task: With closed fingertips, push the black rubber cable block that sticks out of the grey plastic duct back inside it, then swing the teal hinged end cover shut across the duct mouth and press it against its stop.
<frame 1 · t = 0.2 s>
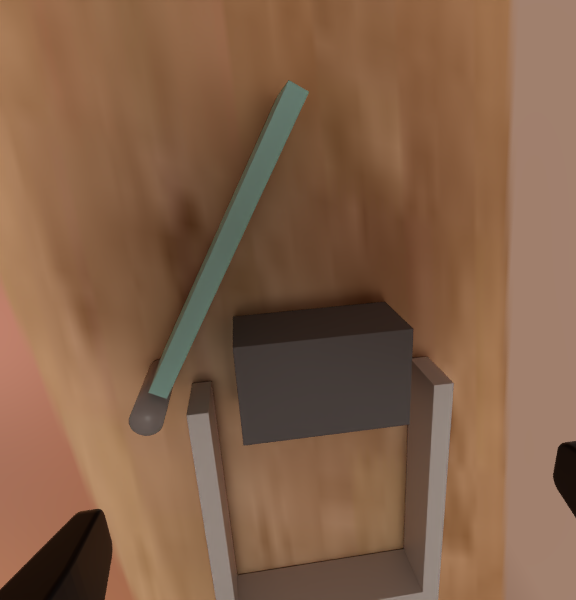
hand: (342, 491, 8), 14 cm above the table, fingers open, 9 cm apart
cable block: (311, 350, 23), on the table
duct: (318, 474, 25), on the table
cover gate: (222, 245, 18), point 2 cm above the table, hinge at 60.0°
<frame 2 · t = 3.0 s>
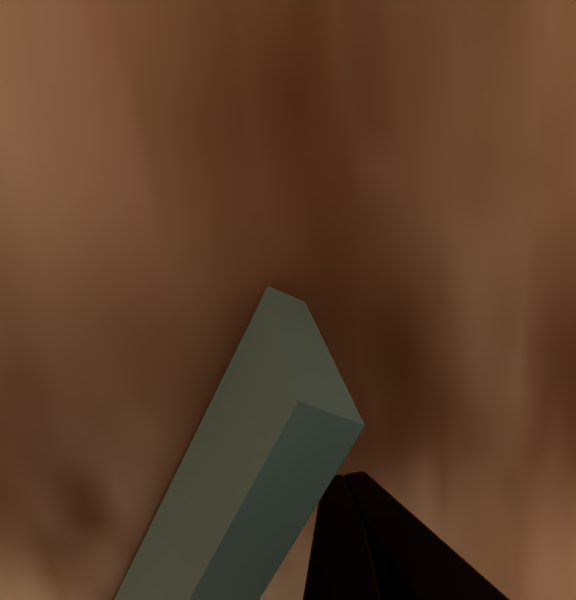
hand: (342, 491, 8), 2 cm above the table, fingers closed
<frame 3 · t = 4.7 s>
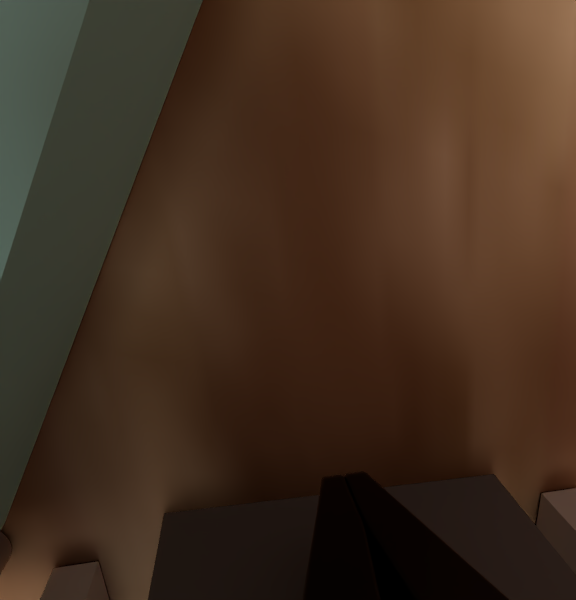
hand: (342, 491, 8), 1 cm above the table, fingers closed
cable block: (334, 568, 11), on the table, touching gripper
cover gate: (38, 255, 5), point 2 cm above the table, hinge at 60.0°
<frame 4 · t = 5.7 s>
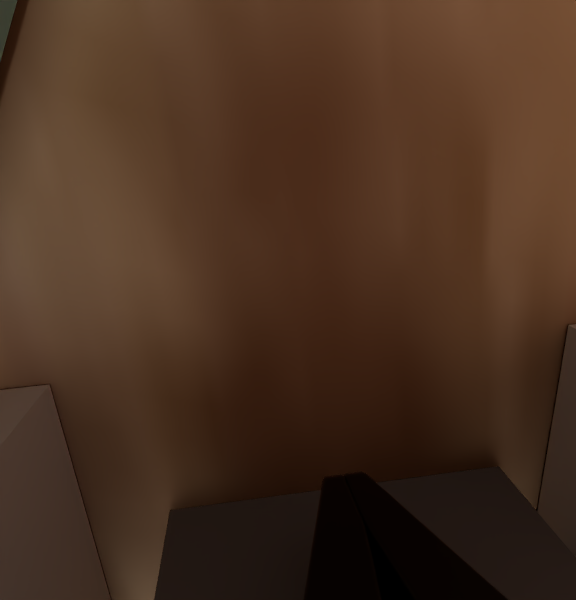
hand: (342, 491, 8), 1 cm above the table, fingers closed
cable block: (339, 556, 11), on the table
duct: (333, 592, 11), on the table
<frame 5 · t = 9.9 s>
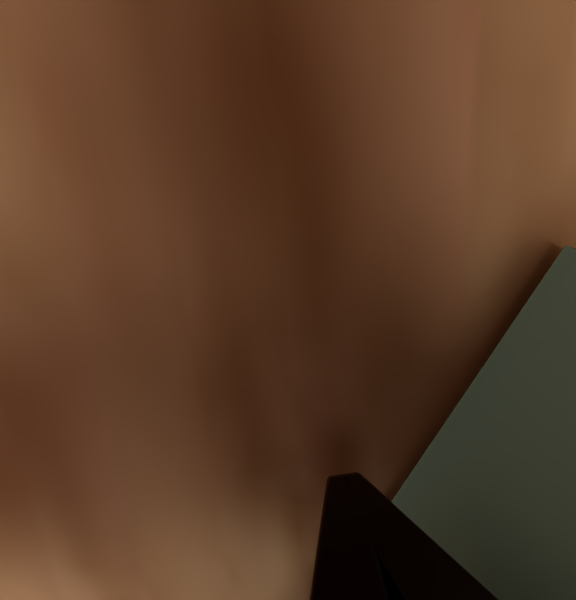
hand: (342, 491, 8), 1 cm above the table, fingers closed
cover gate: (448, 579, 8), point 2 cm above the table, hinge at 60.0°, touching gripper
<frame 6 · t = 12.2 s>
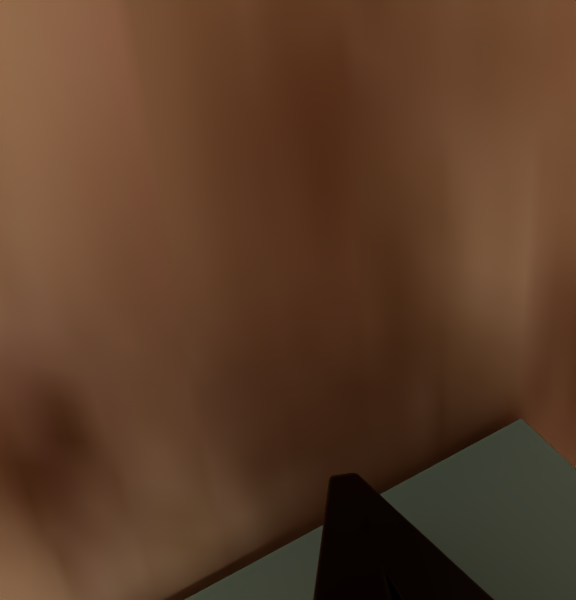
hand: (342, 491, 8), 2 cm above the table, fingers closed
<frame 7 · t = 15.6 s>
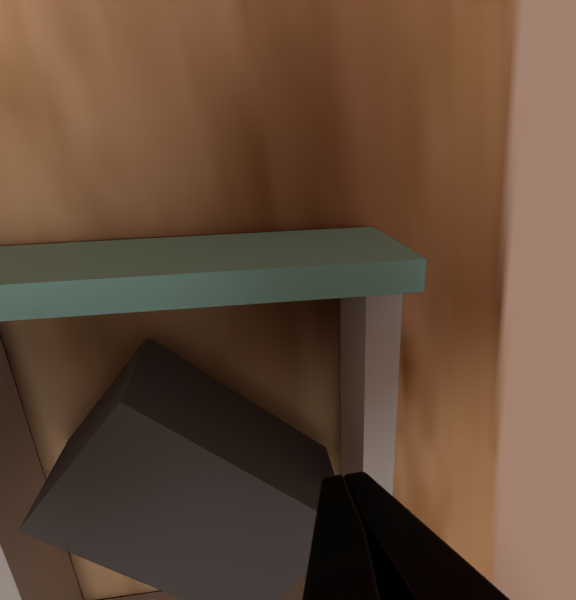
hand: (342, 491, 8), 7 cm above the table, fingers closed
cable block: (203, 440, 16), on the table
duct: (196, 451, 16), on the table
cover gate: (147, 269, 11), point 2 cm above the table, hinge at -1.1°
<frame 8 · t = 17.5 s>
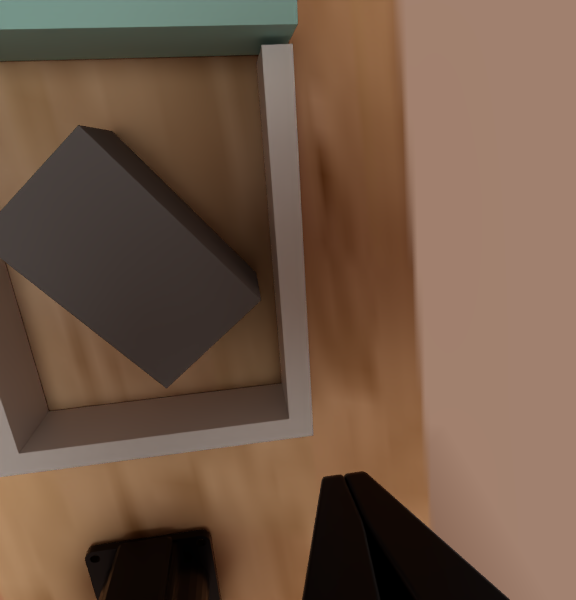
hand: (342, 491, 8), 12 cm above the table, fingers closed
cable block: (149, 247, 18), on the table
duct: (142, 254, 18), on the table
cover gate: (80, 31, 13), point 2 cm above the table, hinge at -1.1°
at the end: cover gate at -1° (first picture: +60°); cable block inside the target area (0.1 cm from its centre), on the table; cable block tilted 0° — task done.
